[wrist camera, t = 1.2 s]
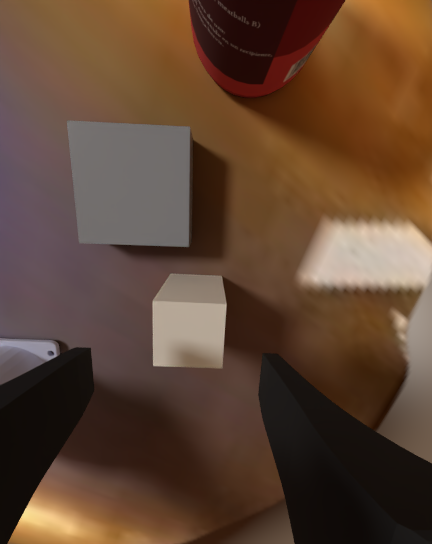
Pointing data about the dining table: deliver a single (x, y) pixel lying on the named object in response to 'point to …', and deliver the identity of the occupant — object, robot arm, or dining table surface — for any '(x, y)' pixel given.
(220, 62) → the canned food
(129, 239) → the grey square block
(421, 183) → the dining table surface
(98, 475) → the dining table surface
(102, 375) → the dining table surface
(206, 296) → the cream block
